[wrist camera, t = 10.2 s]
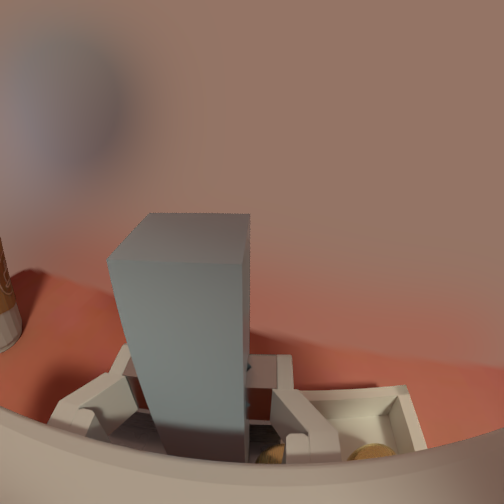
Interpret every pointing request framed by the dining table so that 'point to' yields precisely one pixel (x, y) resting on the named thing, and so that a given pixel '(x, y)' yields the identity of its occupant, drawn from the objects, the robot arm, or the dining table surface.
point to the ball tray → (370, 418)
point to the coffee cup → (8, 308)
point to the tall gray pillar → (189, 327)
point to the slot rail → (147, 439)
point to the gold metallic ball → (371, 452)
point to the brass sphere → (271, 455)
